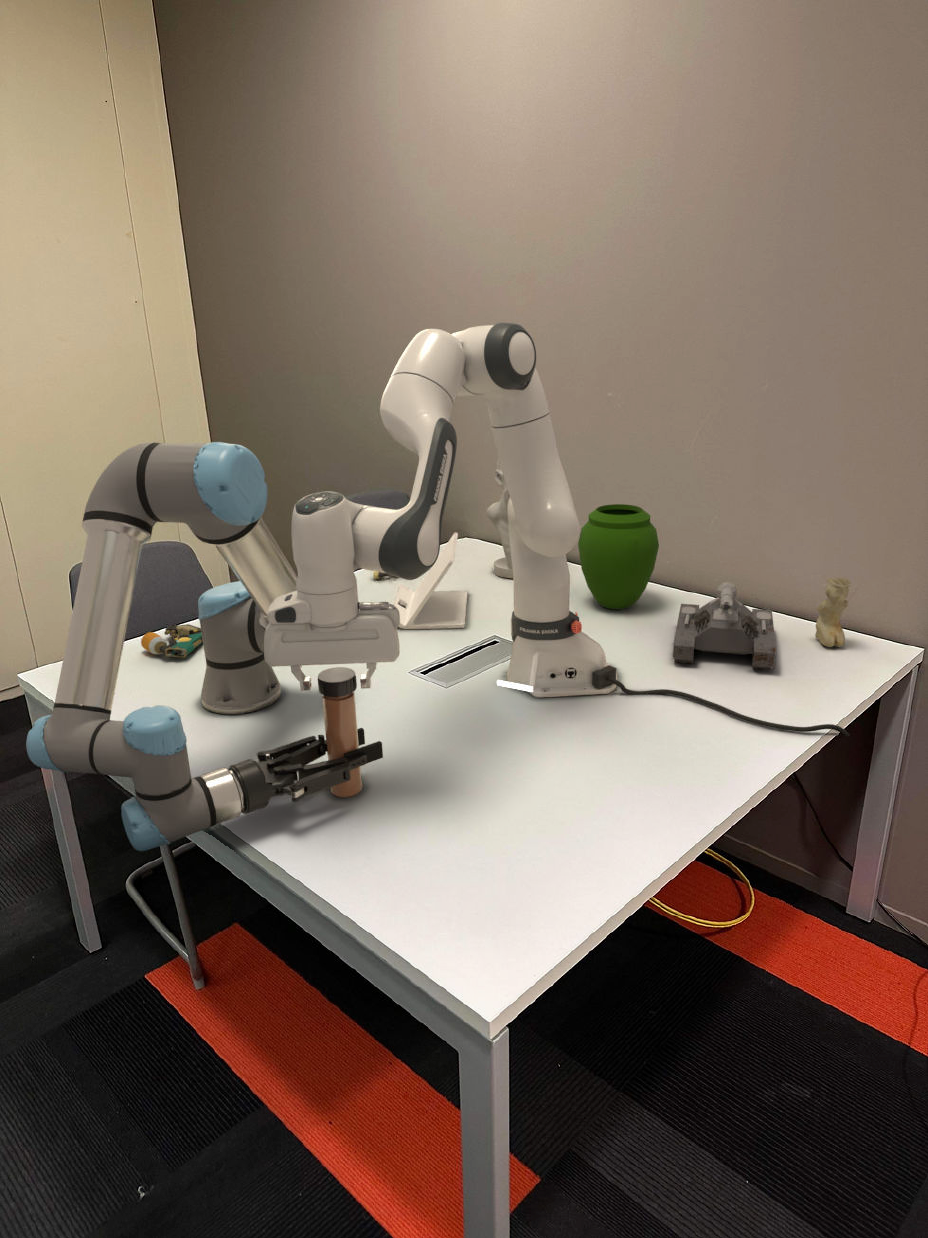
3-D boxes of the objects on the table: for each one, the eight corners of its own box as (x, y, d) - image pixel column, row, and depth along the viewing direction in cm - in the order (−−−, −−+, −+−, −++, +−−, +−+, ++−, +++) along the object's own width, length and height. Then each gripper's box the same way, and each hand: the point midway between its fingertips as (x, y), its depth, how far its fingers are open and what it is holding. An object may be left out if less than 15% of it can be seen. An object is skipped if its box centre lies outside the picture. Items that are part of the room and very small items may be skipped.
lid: (322, 700, 128) (321, 685, 127) (315, 684, 133) (313, 670, 132) (360, 693, 129) (359, 678, 129) (352, 678, 135) (350, 664, 134)
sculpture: (821, 649, 184) (830, 583, 179) (808, 637, 191) (816, 573, 185) (848, 649, 184) (858, 582, 179) (834, 636, 191) (843, 572, 185)
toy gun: (370, 572, 238) (404, 568, 235) (388, 557, 255) (420, 554, 253) (372, 581, 238) (406, 578, 236) (390, 566, 256) (422, 563, 254)
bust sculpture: (503, 593, 225) (502, 460, 212) (483, 567, 247) (480, 445, 234) (562, 587, 228) (563, 456, 215) (536, 562, 250) (536, 441, 237)
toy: (679, 623, 201) (683, 562, 196) (769, 630, 195) (776, 567, 190) (671, 666, 178) (676, 598, 173) (773, 675, 173) (781, 605, 167)
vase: (599, 587, 227) (601, 497, 218) (668, 600, 216) (673, 505, 208) (562, 608, 212) (564, 513, 204) (634, 623, 202) (639, 523, 193)
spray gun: (181, 632, 206) (230, 643, 201) (128, 653, 192) (180, 665, 186) (179, 615, 205) (229, 625, 199) (126, 635, 191) (178, 647, 185)
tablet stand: (467, 593, 225) (465, 531, 219) (465, 628, 202) (462, 559, 196) (399, 594, 226) (395, 532, 220) (388, 629, 203) (384, 560, 197)
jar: (337, 800, 134) (327, 690, 127) (326, 785, 138) (316, 678, 132) (366, 791, 136) (358, 683, 130) (355, 777, 140) (346, 671, 134)
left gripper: (215, 787, 133) (347, 741, 146) (262, 841, 120) (403, 785, 132) (209, 745, 131) (343, 702, 143) (256, 795, 117) (400, 743, 130)
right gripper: (399, 594, 130) (404, 677, 134) (264, 599, 129) (274, 682, 134) (397, 608, 124) (403, 694, 129) (256, 613, 123) (266, 699, 128)
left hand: (371, 742), depth 138 cm, fingers closed on jar, 5 cm apart
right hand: (336, 688), depth 131 cm, fingers open, 8 cm apart
